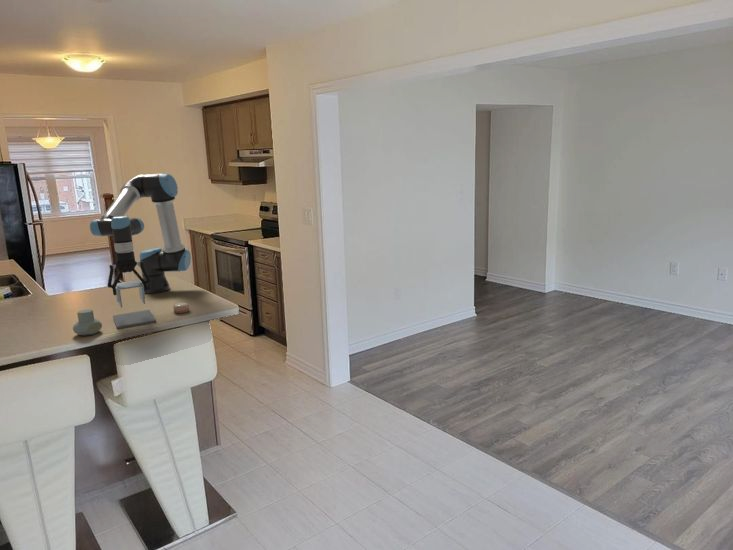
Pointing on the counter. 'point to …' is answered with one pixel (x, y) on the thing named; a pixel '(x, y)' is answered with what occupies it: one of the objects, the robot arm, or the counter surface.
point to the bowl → (181, 307)
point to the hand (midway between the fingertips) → (131, 299)
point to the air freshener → (86, 323)
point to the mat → (133, 319)
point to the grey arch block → (130, 285)
